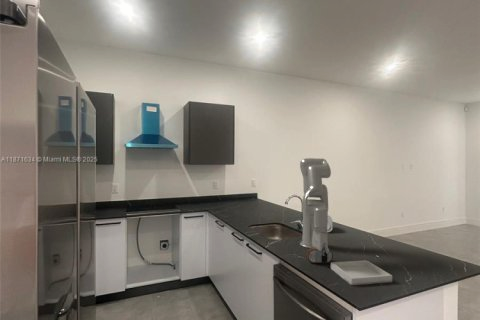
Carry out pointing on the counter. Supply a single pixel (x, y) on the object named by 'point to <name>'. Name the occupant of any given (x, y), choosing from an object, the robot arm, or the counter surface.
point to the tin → (318, 255)
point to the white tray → (360, 272)
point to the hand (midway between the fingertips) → (319, 258)
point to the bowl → (329, 224)
